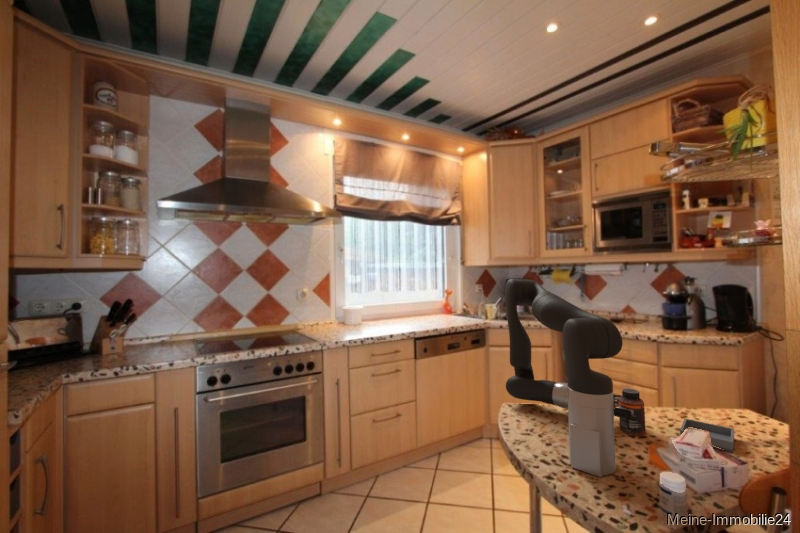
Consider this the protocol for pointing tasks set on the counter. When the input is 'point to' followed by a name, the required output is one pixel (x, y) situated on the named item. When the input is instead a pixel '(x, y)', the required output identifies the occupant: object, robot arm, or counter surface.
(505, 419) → the counter surface
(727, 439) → the slate tray
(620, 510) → the counter surface
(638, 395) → the supplement bottle
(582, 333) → the robot arm
